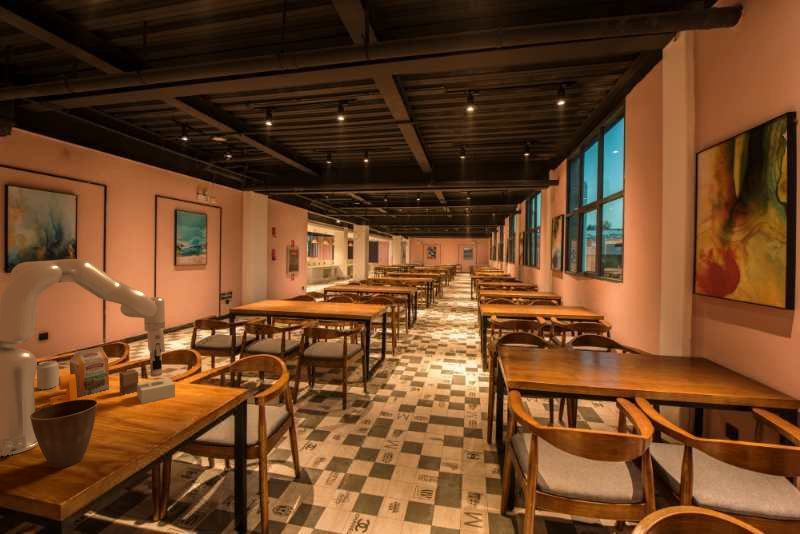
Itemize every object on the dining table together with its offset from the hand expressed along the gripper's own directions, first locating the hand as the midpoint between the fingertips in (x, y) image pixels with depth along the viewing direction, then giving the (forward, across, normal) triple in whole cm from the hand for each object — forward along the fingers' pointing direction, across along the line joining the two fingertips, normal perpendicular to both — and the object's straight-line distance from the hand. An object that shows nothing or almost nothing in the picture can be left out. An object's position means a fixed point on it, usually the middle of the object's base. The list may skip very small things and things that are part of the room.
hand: (156, 367), depth 166 cm
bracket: (+13, +14, +30) cm, 36 cm away
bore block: (+13, 0, 0) cm, 13 cm away
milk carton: (+13, +27, +21) cm, 37 cm away
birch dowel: (+3, 0, 0) cm, 3 cm away
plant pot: (+12, -44, +30) cm, 55 cm away
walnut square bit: (+13, +14, +8) cm, 20 cm away
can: (+13, +46, +35) cm, 59 cm away
